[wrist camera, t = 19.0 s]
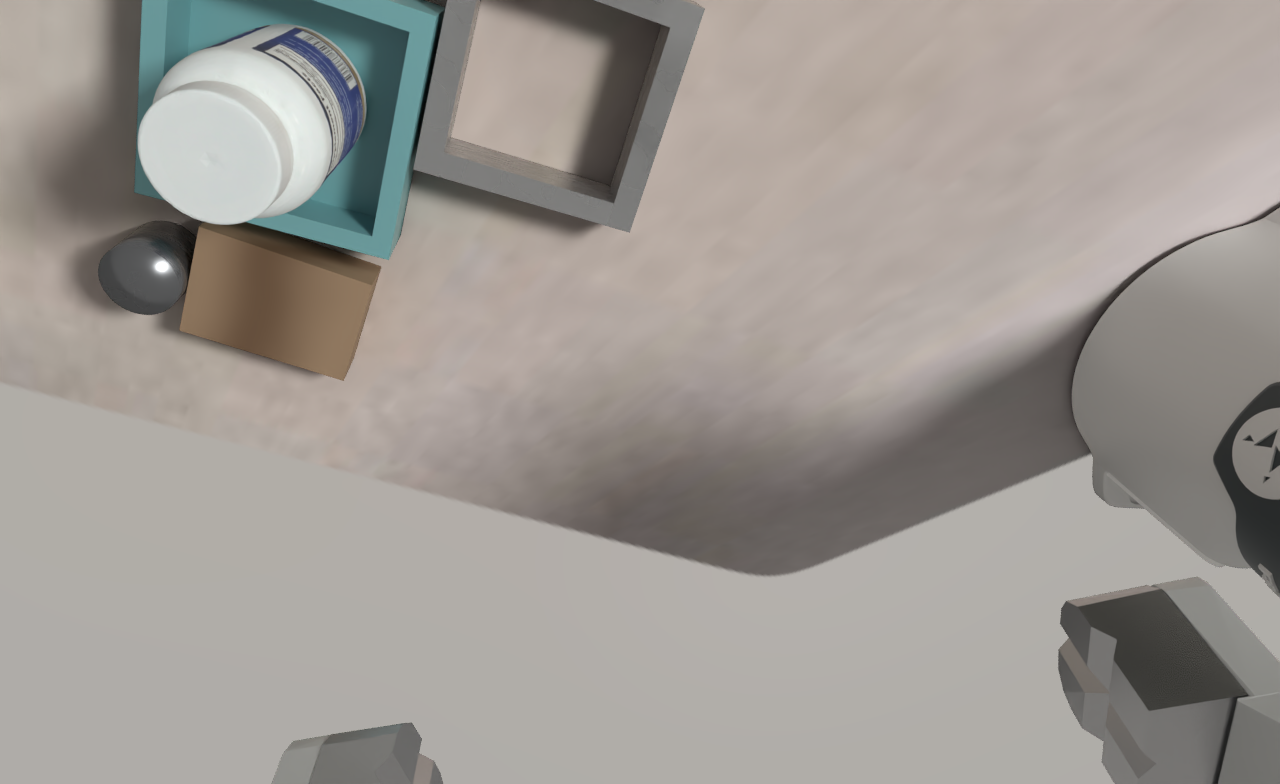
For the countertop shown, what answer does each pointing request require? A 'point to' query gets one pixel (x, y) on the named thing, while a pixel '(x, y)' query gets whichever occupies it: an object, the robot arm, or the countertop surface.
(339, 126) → the pill bottle
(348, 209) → the tray
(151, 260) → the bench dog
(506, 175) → the collar
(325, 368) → the tan cardboard-like brick
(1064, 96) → the countertop surface
